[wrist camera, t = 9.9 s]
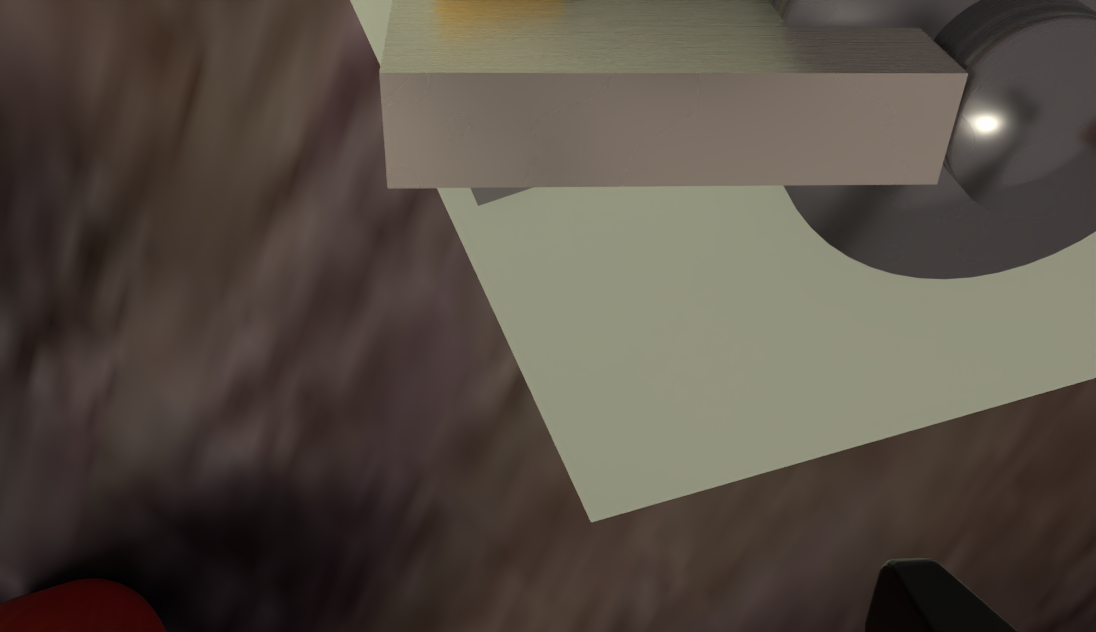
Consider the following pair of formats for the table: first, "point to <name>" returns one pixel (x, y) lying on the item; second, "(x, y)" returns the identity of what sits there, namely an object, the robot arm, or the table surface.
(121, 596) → the apple
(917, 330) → the dial plate
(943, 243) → the dial
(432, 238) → the table surface
